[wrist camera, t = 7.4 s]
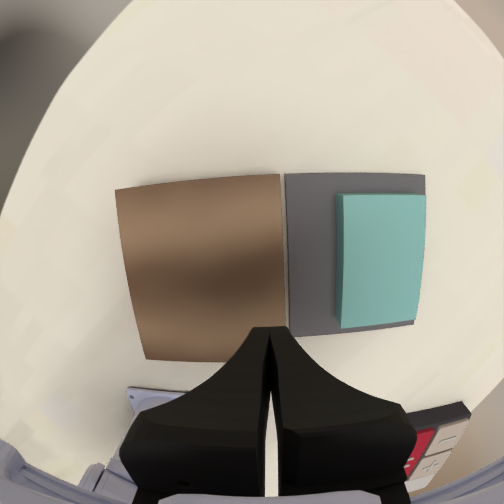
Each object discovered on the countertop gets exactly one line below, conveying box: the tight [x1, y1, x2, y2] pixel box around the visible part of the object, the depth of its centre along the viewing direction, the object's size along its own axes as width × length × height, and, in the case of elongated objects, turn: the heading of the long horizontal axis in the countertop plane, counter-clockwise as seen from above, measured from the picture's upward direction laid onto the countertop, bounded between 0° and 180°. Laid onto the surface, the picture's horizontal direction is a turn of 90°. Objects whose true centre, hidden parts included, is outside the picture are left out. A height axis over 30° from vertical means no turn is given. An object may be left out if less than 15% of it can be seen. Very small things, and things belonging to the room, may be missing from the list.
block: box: [335, 193, 426, 329], centre depth 19 cm, size 9×6×2 cm, turn 4°
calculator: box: [404, 401, 471, 492], centre depth 25 cm, size 11×4×15 cm
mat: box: [285, 173, 425, 337], centre depth 20 cm, size 12×10×1 cm
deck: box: [115, 174, 285, 362], centre depth 19 cm, size 12×10×4 cm
